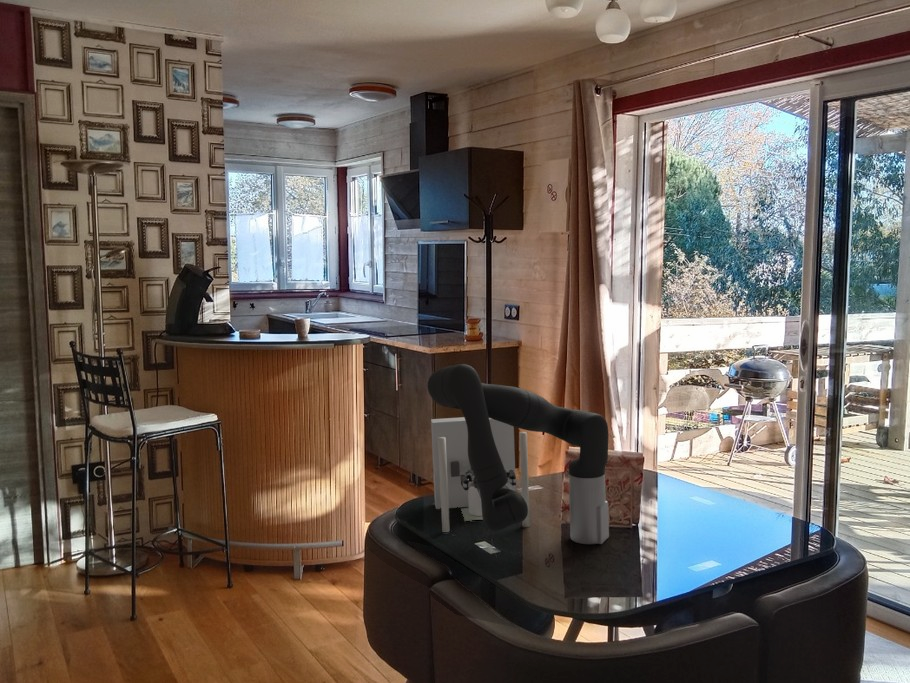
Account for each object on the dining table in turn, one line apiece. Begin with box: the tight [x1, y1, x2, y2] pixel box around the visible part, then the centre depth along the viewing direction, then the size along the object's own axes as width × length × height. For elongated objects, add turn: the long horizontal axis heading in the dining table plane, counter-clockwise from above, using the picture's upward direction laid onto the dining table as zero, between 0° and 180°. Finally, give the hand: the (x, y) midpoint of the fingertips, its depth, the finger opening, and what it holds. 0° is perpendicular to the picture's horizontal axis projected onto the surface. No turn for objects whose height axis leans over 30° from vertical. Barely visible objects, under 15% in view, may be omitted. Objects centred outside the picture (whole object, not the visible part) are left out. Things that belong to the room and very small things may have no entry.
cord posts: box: [438, 431, 531, 533], centre depth 212 cm, size 2×24×26 cm, turn 96°
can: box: [468, 471, 482, 516], centre depth 224 cm, size 6×6×12 cm
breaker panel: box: [430, 416, 517, 510], centre depth 233 cm, size 7×24×26 cm, turn 96°
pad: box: [460, 507, 483, 522], centre depth 225 cm, size 10×10×1 cm
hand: (484, 472), depth 213 cm, fingers open, 8 cm apart
